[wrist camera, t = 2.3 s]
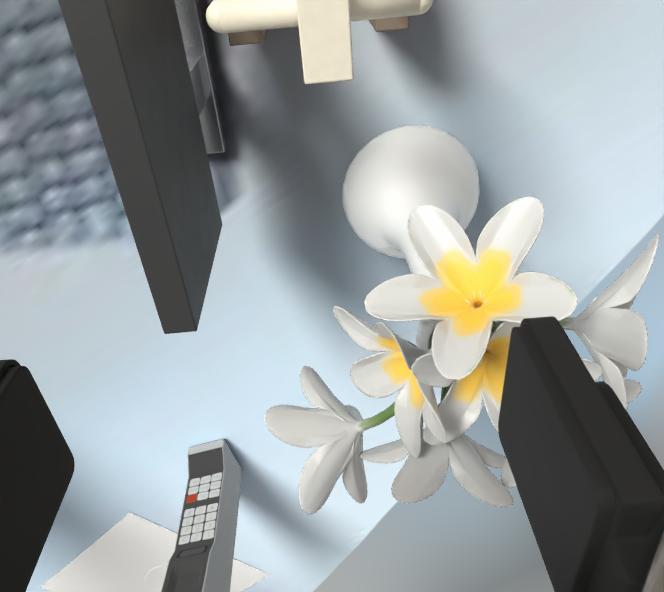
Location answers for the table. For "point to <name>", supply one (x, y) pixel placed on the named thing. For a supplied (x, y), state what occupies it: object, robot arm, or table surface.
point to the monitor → (157, 136)
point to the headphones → (312, 27)
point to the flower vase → (445, 325)
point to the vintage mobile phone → (206, 522)
